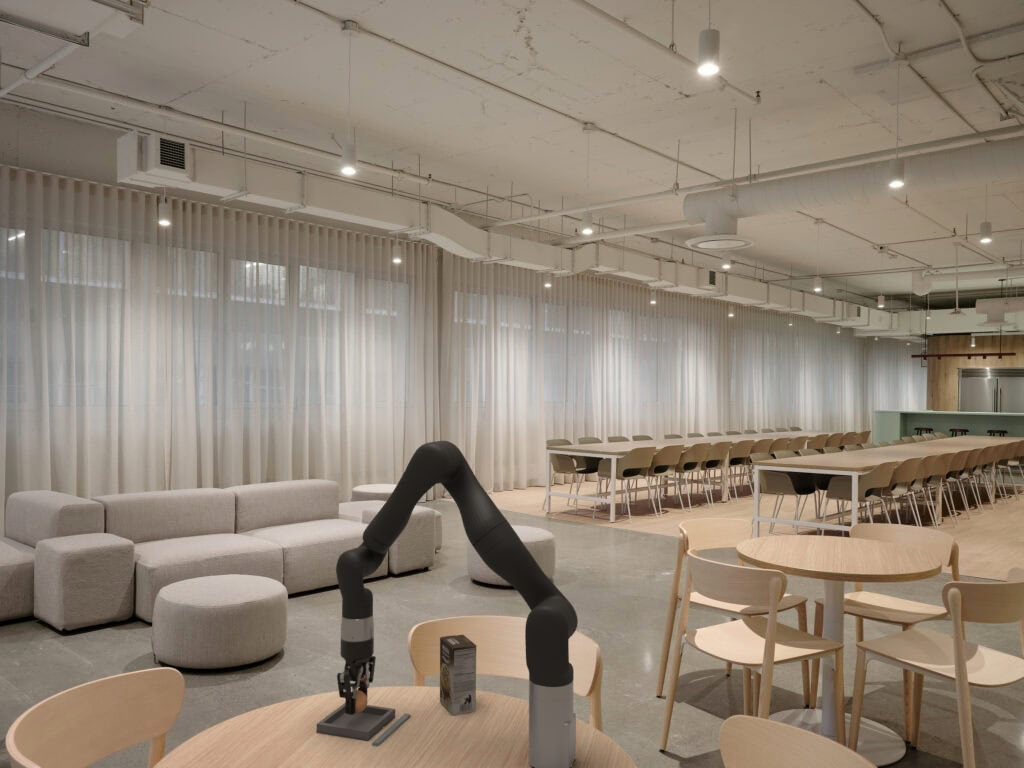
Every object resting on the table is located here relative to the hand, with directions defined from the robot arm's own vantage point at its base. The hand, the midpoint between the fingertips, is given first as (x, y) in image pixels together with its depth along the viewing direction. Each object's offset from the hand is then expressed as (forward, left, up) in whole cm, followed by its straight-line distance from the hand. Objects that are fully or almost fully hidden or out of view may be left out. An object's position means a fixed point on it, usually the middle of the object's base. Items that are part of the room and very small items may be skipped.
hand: (356, 708), depth 177 cm
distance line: (-9, 0, -4) cm, 10 cm away
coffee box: (-18, -17, -4) cm, 25 cm away
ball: (0, 0, +2) cm, 2 cm away
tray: (0, 0, -4) cm, 4 cm away
